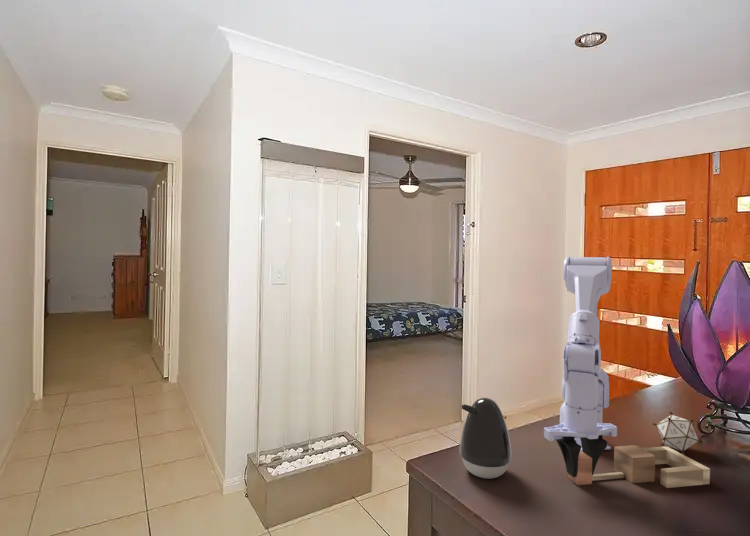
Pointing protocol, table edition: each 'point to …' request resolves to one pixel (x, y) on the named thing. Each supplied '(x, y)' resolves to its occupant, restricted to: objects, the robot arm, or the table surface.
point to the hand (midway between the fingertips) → (579, 473)
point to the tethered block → (619, 466)
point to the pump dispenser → (485, 440)
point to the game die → (677, 432)
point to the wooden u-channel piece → (679, 468)
